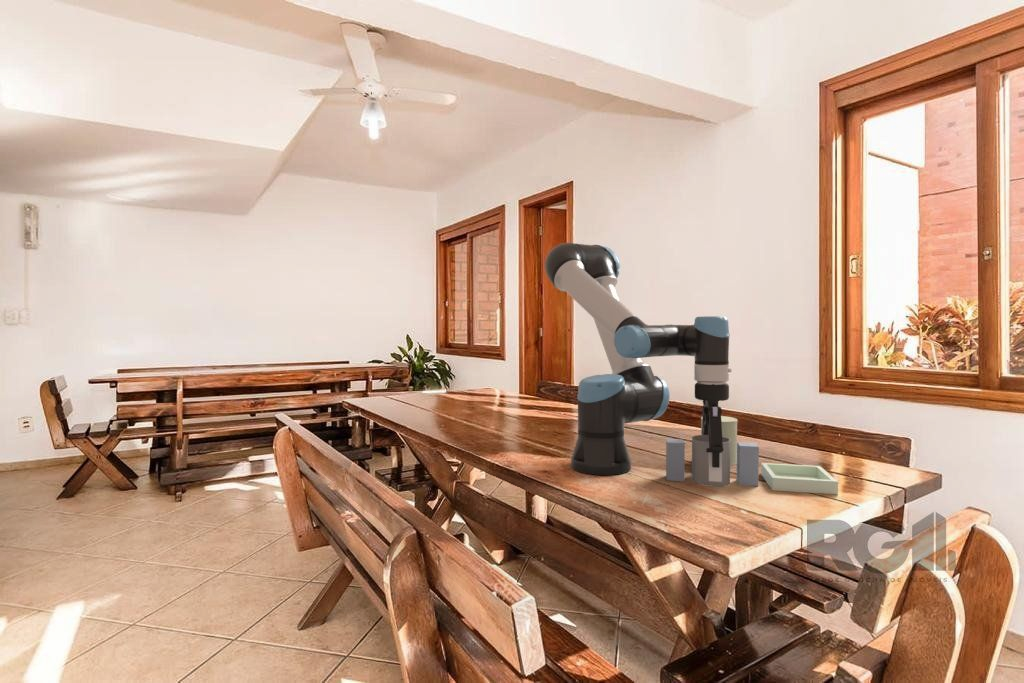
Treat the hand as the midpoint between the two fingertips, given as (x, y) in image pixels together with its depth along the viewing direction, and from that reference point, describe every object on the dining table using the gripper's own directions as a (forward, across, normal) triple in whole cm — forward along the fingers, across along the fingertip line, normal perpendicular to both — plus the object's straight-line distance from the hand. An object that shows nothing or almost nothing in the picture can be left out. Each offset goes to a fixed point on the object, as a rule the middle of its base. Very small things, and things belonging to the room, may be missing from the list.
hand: (711, 473), depth 129 cm
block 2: (+2, 0, -8) cm, 8 cm away
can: (+2, +19, -4) cm, 20 cm away
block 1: (+2, 0, +8) cm, 8 cm away
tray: (+2, +2, -19) cm, 19 cm away
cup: (+2, 0, 0) cm, 2 cm away
